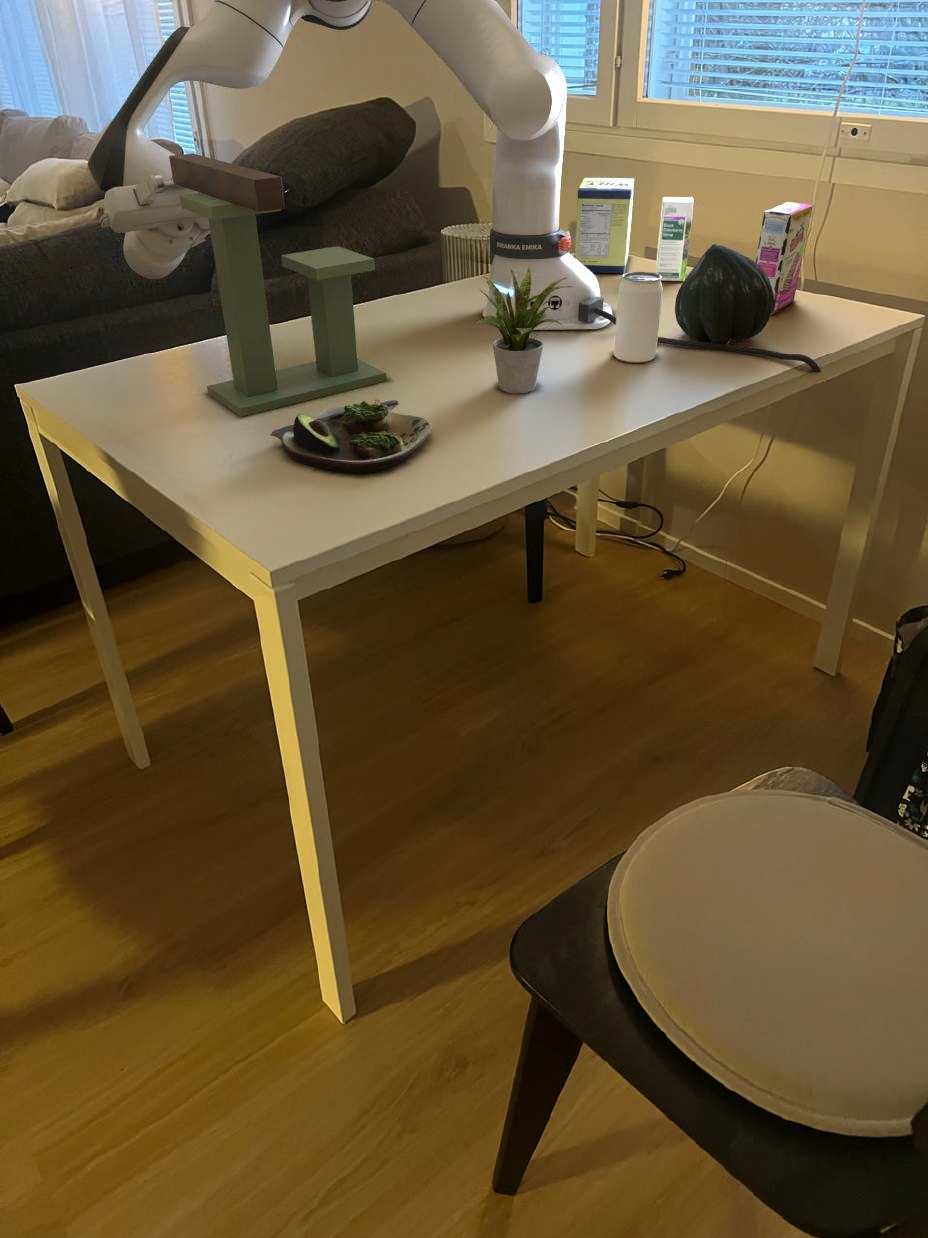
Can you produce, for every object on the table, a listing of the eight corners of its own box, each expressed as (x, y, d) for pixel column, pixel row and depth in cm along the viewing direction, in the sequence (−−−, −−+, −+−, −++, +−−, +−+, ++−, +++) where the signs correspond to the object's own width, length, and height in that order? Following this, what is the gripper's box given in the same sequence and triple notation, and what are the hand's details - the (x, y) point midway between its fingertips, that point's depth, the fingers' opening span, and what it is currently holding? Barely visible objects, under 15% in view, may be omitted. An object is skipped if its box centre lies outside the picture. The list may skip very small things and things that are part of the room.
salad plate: (346, 403, 127) (343, 370, 124) (460, 425, 120) (459, 391, 117) (256, 454, 113) (251, 419, 110) (379, 483, 106) (376, 445, 103)
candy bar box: (773, 315, 159) (791, 214, 150) (746, 311, 162) (762, 210, 153) (796, 301, 167) (814, 203, 158) (769, 297, 169) (785, 200, 160)
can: (655, 364, 139) (663, 282, 132) (611, 362, 140) (618, 280, 133) (656, 351, 144) (664, 271, 137) (614, 349, 145) (621, 269, 138)
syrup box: (654, 281, 180) (663, 200, 172) (654, 273, 185) (662, 195, 177) (684, 281, 179) (694, 201, 171) (683, 274, 184) (693, 195, 176)
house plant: (583, 404, 126) (591, 280, 117) (484, 411, 124) (484, 286, 115) (557, 370, 137) (563, 255, 128) (466, 376, 136) (465, 260, 126)
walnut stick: (173, 183, 124) (168, 155, 122) (197, 180, 125) (193, 153, 123) (258, 211, 106) (254, 179, 104) (285, 208, 108) (281, 176, 106)
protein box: (628, 256, 197) (635, 176, 189) (625, 274, 185) (632, 189, 176) (579, 255, 199) (583, 176, 190) (573, 272, 186) (577, 188, 178)
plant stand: (208, 393, 131) (173, 194, 116) (348, 361, 142) (333, 176, 127) (241, 416, 123) (208, 207, 109) (386, 380, 134) (375, 186, 120)
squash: (802, 315, 140) (772, 225, 142) (716, 330, 136) (687, 237, 138) (753, 356, 154) (726, 273, 155) (674, 370, 150) (648, 285, 151)
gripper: (89, 206, 129) (105, 160, 117) (225, 189, 138) (253, 145, 126) (105, 251, 129) (123, 210, 118) (240, 231, 139) (269, 191, 127)
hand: (192, 176), depth 122 cm, fingers open, 8 cm apart
